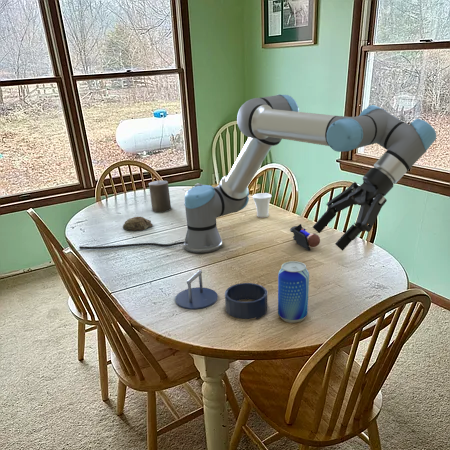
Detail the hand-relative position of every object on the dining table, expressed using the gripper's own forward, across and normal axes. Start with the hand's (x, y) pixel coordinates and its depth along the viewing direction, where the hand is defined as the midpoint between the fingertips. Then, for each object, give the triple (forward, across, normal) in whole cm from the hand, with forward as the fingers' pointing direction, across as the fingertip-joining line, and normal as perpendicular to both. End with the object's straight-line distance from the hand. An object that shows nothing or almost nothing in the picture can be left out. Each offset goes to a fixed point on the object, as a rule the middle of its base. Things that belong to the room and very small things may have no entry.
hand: (326, 238), depth 119 cm
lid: (+39, +19, +8) cm, 45 cm away
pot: (+31, +8, -1) cm, 32 cm away
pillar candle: (+38, +120, +6) cm, 126 cm away
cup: (+7, +90, -25) cm, 94 cm away
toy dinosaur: (+23, +124, -9) cm, 127 cm away
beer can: (+23, 0, -10) cm, 25 cm away
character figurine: (+5, +48, -27) cm, 56 cm away
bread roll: (+48, +98, +16) cm, 110 cm away
